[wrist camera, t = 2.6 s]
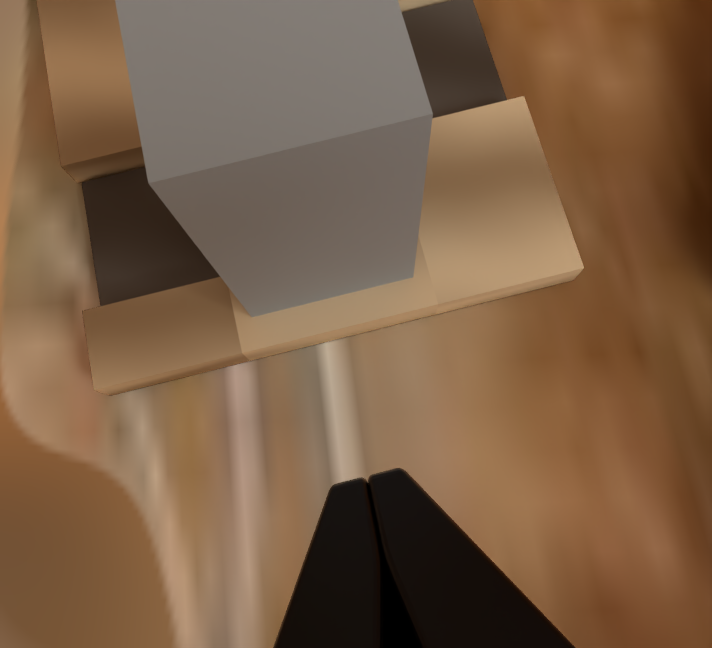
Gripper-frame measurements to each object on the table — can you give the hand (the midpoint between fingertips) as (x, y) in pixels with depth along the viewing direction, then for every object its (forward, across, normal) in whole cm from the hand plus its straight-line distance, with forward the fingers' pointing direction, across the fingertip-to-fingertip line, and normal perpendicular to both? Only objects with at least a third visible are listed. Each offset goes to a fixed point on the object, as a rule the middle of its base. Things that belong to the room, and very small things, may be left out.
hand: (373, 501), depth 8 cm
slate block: (+14, 0, +2) cm, 14 cm away
